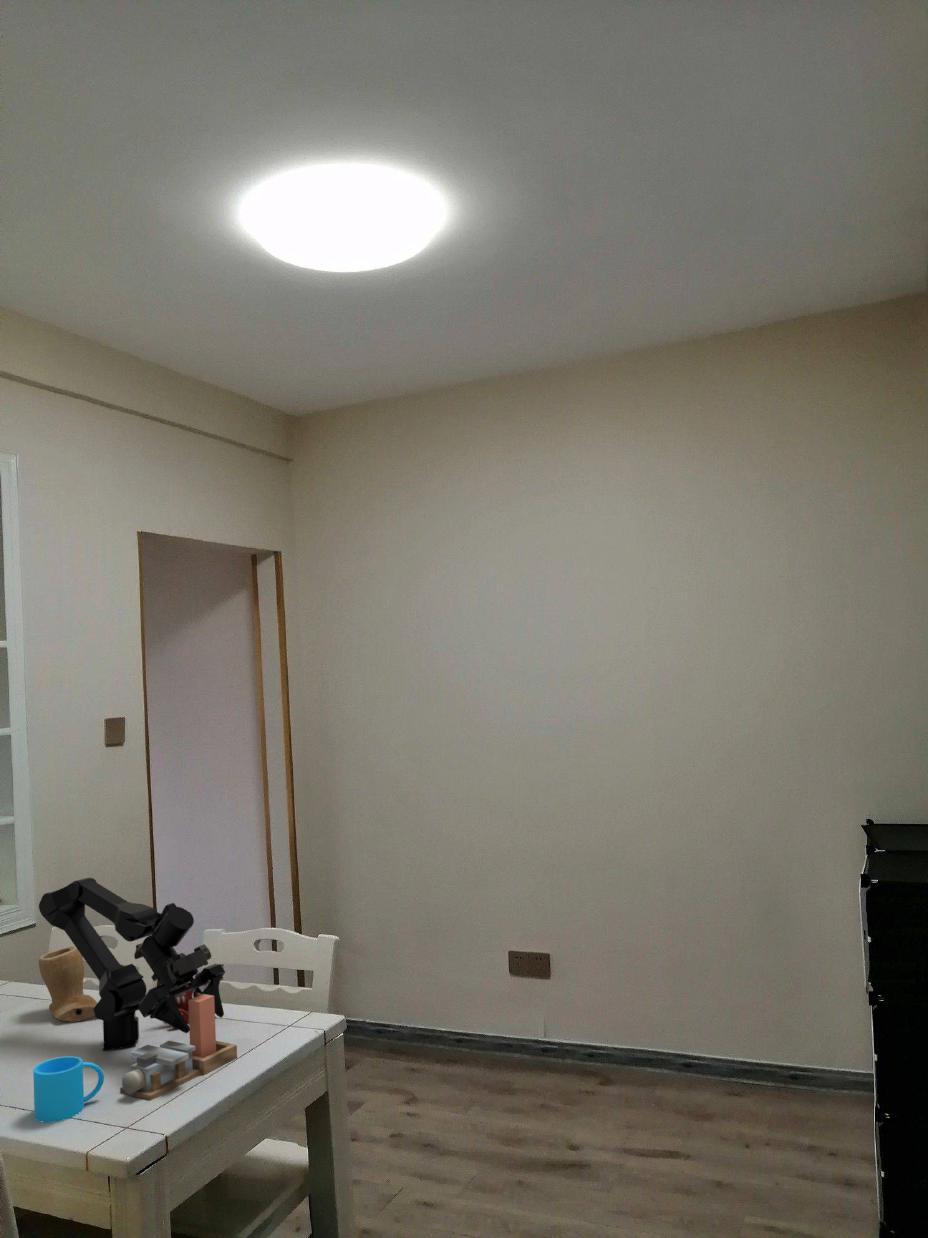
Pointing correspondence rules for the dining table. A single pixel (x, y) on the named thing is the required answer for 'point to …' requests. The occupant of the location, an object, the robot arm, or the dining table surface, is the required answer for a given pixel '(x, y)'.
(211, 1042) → the salmon pink box
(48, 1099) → the mug
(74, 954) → the tan hollow boot shape
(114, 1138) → the dining table surface
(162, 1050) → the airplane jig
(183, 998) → the toy fire truck
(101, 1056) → the dining table surface
